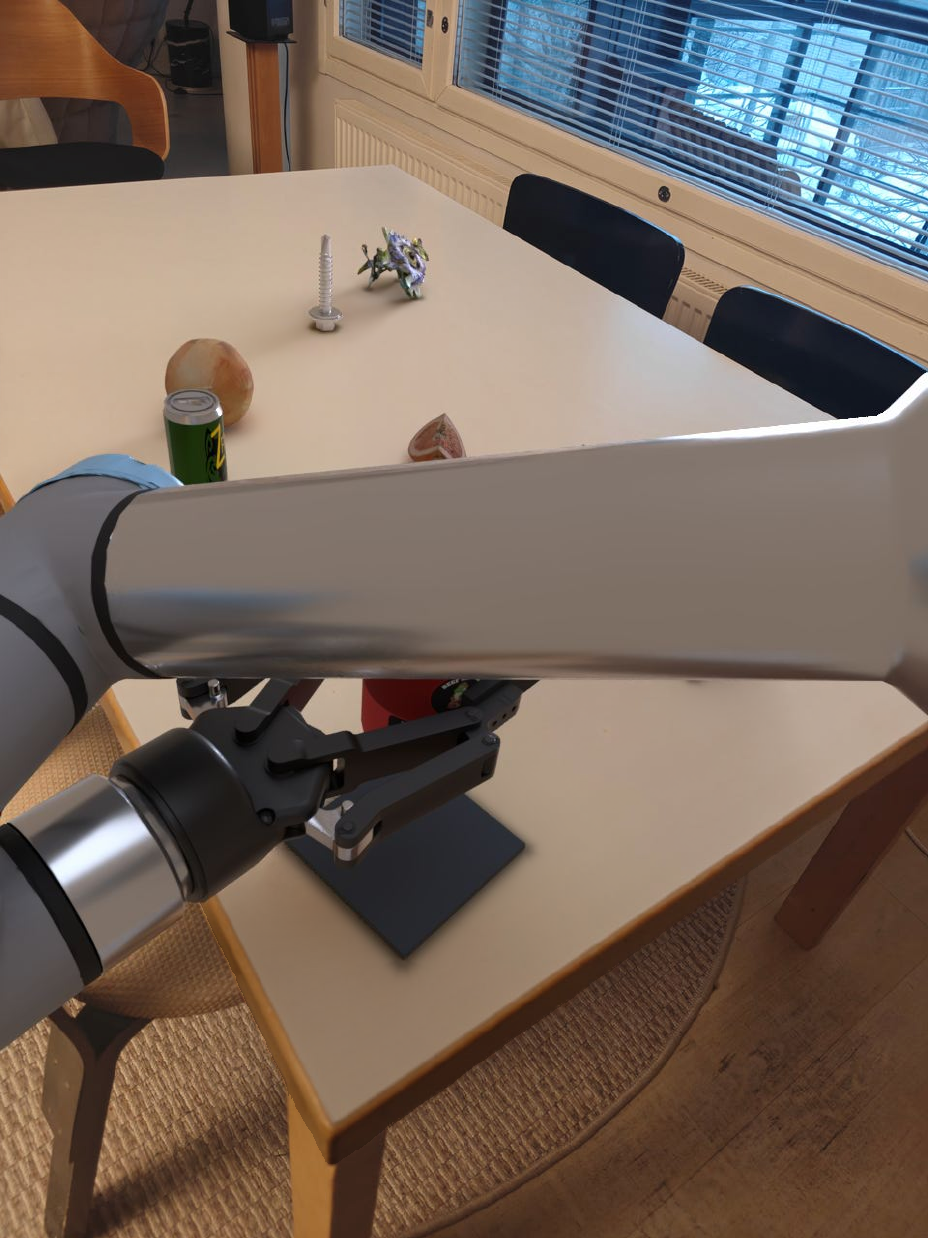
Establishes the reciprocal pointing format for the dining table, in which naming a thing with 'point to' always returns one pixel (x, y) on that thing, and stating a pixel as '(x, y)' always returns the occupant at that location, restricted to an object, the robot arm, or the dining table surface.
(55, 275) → the dining table surface
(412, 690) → the canned food
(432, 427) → the fruit slice
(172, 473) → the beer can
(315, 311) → the screw
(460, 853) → the mat
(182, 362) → the onion
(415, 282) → the passion flower
